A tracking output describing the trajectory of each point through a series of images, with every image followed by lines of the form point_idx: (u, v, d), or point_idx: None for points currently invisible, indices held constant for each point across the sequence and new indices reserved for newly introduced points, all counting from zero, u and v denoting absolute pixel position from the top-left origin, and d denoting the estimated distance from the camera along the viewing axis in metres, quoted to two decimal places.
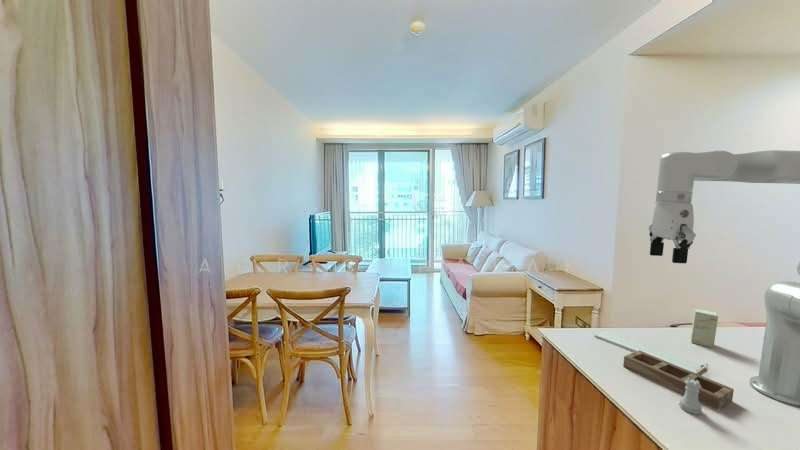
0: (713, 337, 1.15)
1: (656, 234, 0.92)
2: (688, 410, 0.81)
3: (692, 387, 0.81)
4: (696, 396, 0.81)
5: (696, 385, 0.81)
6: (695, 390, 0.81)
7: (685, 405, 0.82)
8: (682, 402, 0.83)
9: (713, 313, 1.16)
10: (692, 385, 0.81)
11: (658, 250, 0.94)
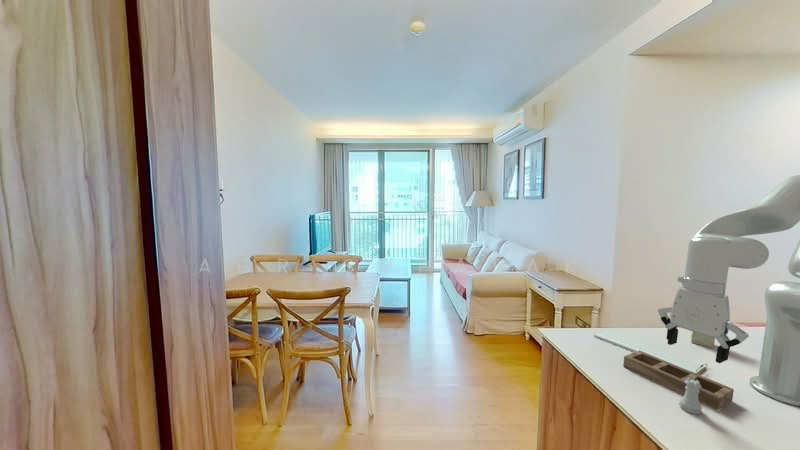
0: None
1: None
2: (688, 410, 0.81)
3: (692, 387, 0.81)
4: (696, 396, 0.81)
5: (696, 385, 0.81)
6: (695, 390, 0.81)
7: (685, 405, 0.82)
8: (682, 402, 0.83)
9: None
10: (692, 385, 0.81)
11: None
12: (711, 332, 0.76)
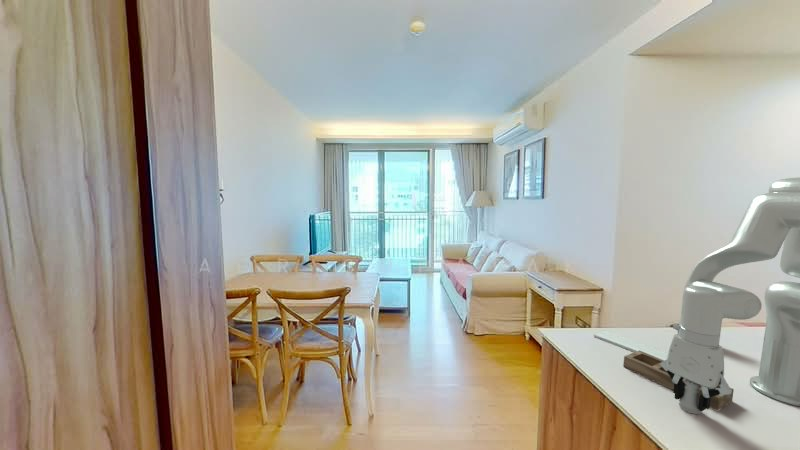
0: None
1: None
2: (688, 410, 0.81)
3: (692, 387, 0.81)
4: (696, 396, 0.81)
5: (696, 385, 0.81)
6: (695, 390, 0.81)
7: (685, 405, 0.82)
8: (682, 402, 0.83)
9: None
10: (692, 385, 0.81)
11: None
12: (706, 383, 0.77)
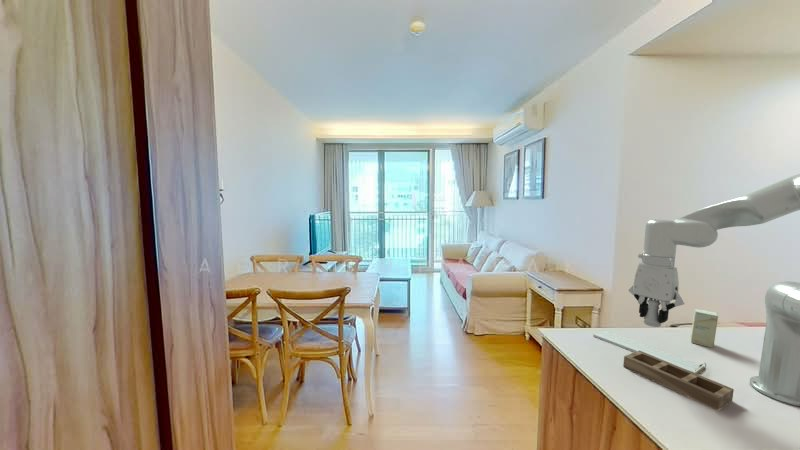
0: (713, 337, 1.15)
1: None
2: (650, 324, 0.97)
3: (653, 304, 0.96)
4: (656, 312, 0.96)
5: (656, 302, 0.96)
6: (656, 306, 0.96)
7: (648, 320, 0.97)
8: (645, 318, 0.98)
9: (713, 313, 1.16)
10: (653, 302, 0.96)
11: None
12: (663, 297, 0.93)
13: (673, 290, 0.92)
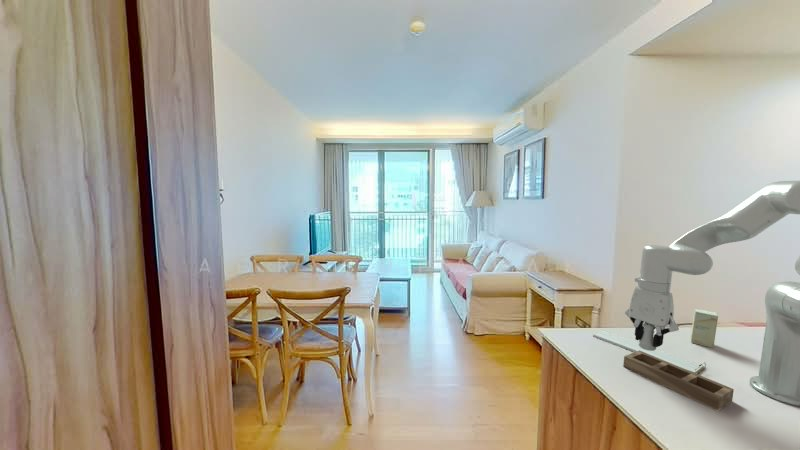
0: (713, 337, 1.15)
1: None
2: (645, 347, 0.98)
3: (649, 328, 0.98)
4: (651, 336, 0.98)
5: (651, 326, 0.98)
6: (651, 330, 0.98)
7: (643, 343, 0.99)
8: (640, 341, 1.00)
9: (713, 313, 1.16)
10: (648, 326, 0.98)
11: None
12: (658, 322, 0.94)
13: (668, 316, 0.93)
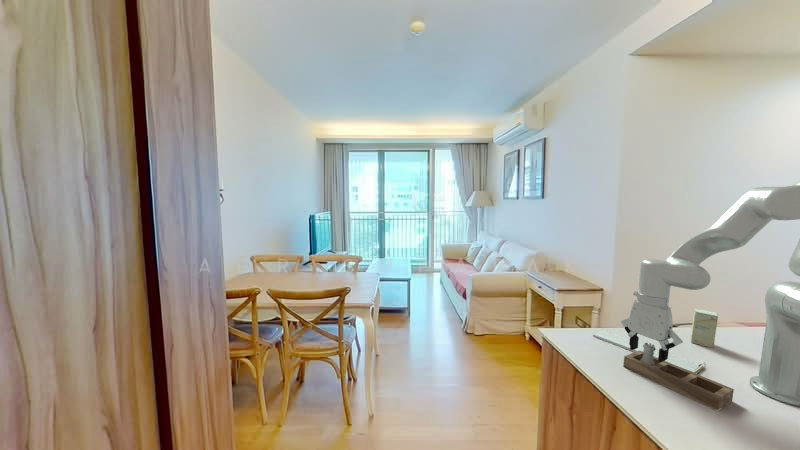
0: (713, 337, 1.15)
1: None
2: None
3: (648, 350, 0.99)
4: (651, 357, 0.99)
5: (651, 348, 0.98)
6: (650, 352, 0.99)
7: None
8: None
9: (713, 313, 1.16)
10: (648, 348, 0.99)
11: None
12: (657, 337, 0.95)
13: (667, 330, 0.94)
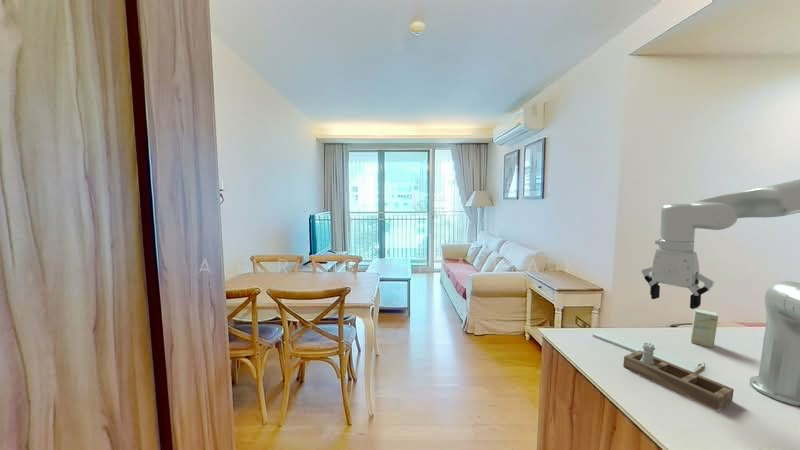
0: (713, 337, 1.15)
1: None
2: None
3: (648, 350, 0.99)
4: (651, 357, 0.99)
5: (651, 348, 0.98)
6: (650, 352, 0.99)
7: None
8: None
9: (713, 313, 1.16)
10: (647, 348, 0.99)
11: None
12: (684, 283, 0.90)
13: (694, 275, 0.89)
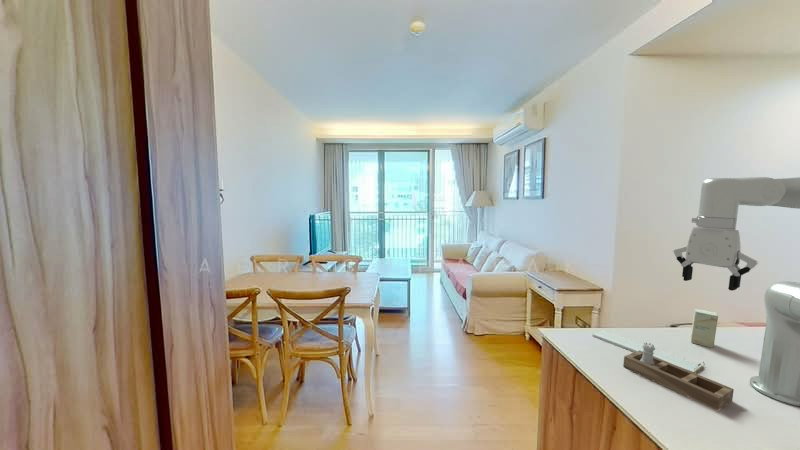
0: (713, 337, 1.15)
1: None
2: None
3: (648, 350, 0.99)
4: (651, 357, 0.99)
5: (651, 348, 0.98)
6: (650, 352, 0.99)
7: None
8: None
9: (713, 313, 1.16)
10: (647, 348, 0.99)
11: None
12: (724, 263, 0.84)
13: (735, 254, 0.83)
